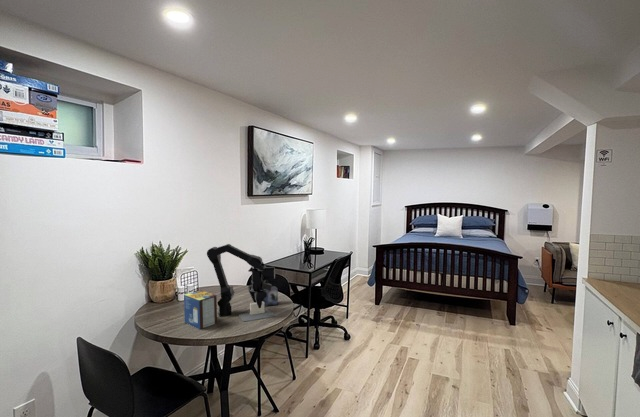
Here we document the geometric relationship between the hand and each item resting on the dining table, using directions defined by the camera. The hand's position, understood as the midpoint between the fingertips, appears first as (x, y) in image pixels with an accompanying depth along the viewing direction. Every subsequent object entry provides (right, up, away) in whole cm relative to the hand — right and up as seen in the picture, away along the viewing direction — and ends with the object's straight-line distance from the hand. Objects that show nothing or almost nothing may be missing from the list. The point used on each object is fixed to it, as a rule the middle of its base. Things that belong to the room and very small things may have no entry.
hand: (257, 305), depth 195 cm
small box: (+4, -4, +17) cm, 18 cm away
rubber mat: (0, -5, -3) cm, 6 cm away
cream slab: (0, -4, 0) cm, 4 cm away
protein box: (-28, -6, -14) cm, 32 cm away
